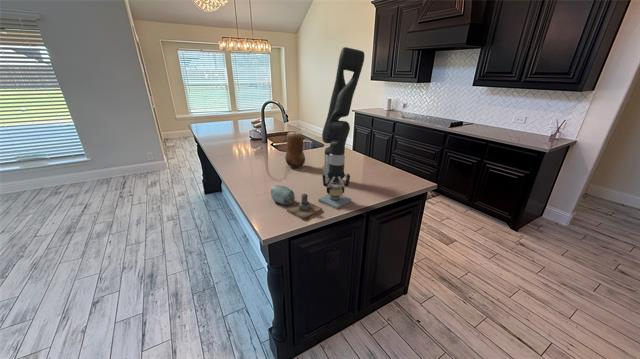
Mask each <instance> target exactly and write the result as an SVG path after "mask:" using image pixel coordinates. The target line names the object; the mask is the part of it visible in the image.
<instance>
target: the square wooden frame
mask: <svg viewBox="0 0 640 359" xmlns="http://www.w3.org/2000/svg"><path fill="white" fill-rule="evenodd" d="M332 185H333V184H331V185H330V188H329V195H330V196H340V195H343V194H344V193H343V189H342V187H341V186H342V185H341V184H337V185H338V186H339V189H332Z"/></svg>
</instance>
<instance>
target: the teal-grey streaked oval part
mask: <svg viewBox="0 0 640 359" xmlns="http://www.w3.org/2000/svg"><path fill="white" fill-rule="evenodd" d="M270 196H271V199H272V200H273V201H274V202H276V203H277V204H278V203H279V204H280V205H288V206H289V205H293V203H294V202H295V198H296V197H295V193H294V191H293V190H292V189H291V188H290V187H287V186H284V185H274V186H272V187H271V189H270Z"/></svg>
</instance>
